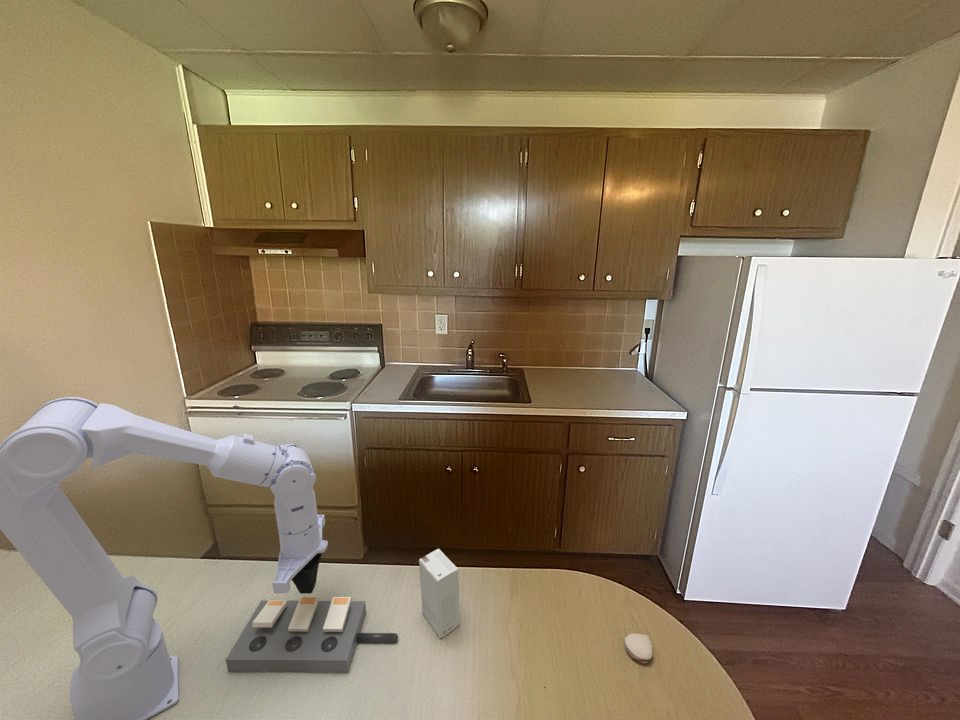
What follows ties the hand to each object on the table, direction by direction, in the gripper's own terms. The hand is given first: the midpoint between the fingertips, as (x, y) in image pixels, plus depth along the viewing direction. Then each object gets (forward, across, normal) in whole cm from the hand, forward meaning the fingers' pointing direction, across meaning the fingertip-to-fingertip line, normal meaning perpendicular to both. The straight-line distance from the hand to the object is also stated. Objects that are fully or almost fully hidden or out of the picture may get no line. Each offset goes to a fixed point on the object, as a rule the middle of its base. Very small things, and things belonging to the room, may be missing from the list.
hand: (307, 590), depth 64 cm
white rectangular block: (+3, -2, +6) cm, 7 cm away
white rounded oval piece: (+7, -5, -55) cm, 56 cm away
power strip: (+7, -3, -3) cm, 8 cm away
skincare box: (+7, 0, -22) cm, 23 cm away
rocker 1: (+3, -2, 0) cm, 3 cm away
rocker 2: (+3, -2, -5) cm, 6 cm away
